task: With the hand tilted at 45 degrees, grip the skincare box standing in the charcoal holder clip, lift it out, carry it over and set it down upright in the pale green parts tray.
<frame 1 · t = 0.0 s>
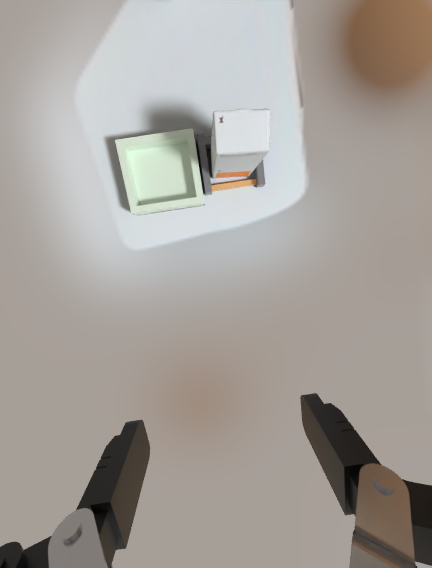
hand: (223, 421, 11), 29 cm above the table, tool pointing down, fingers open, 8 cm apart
skincare box: (230, 164, 36), resting in holder clip
holder clip: (230, 163, 36), on the table
parts tray: (164, 177, 36), on the table
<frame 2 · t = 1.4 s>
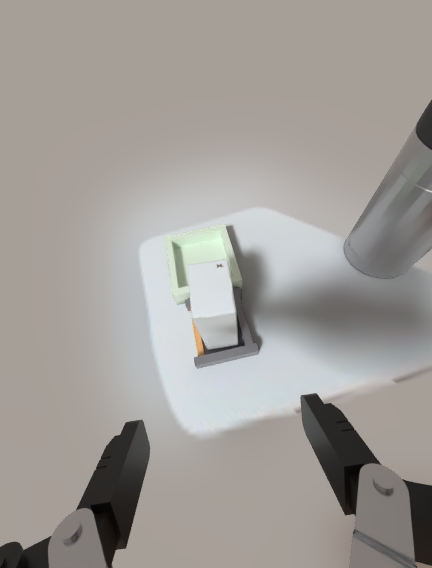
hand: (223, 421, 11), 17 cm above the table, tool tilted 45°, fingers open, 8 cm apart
skincare box: (220, 328, 32), resting in holder clip
holder clip: (220, 327, 32), on the table
parts tray: (203, 267, 37), on the table
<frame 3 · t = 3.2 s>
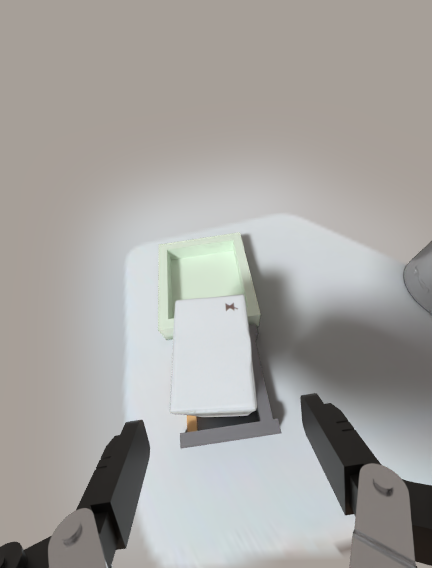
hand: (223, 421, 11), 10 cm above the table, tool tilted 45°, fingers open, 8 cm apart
skincare box: (223, 382, 22), resting in holder clip
holder clip: (223, 381, 22), on the table
parts tray: (206, 289, 27), on the table
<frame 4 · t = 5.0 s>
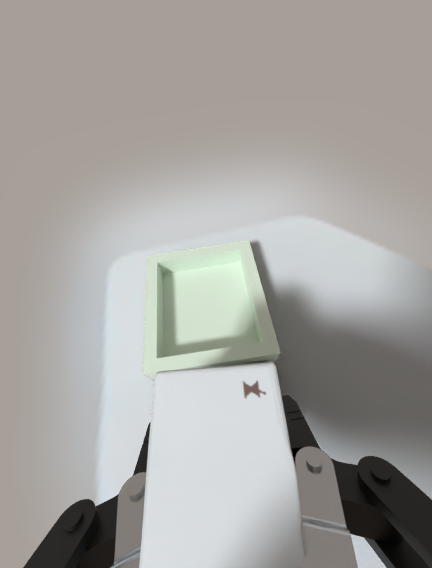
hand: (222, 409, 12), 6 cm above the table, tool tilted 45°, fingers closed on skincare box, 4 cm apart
skincare box: (231, 444, 16), resting in holder clip, touching gripper
parts tray: (207, 312, 22), on the table
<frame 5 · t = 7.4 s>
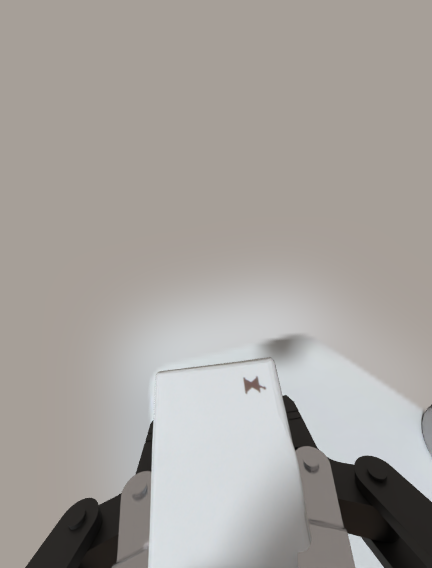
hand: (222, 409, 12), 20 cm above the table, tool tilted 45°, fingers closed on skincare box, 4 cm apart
skincare box: (229, 443, 17), point 14 cm above the table, touching gripper
when the fingers open (8 cm above the table, at t = 10.1 s): skincare box stays where it is, resting on parts tray.
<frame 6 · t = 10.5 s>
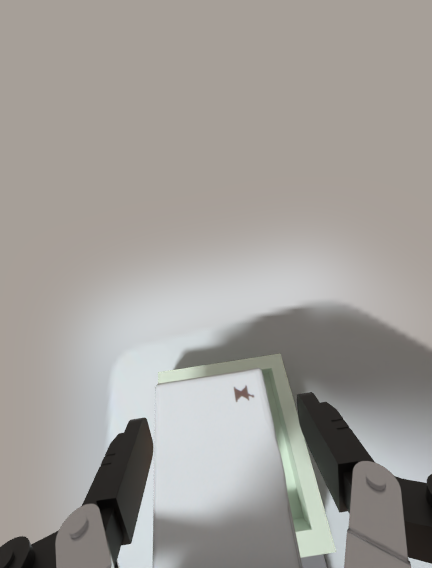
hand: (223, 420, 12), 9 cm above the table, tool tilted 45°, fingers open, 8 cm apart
skincare box: (229, 444, 17), point 1 cm above the table, touching parts tray
parts tray: (231, 442, 18), on the table
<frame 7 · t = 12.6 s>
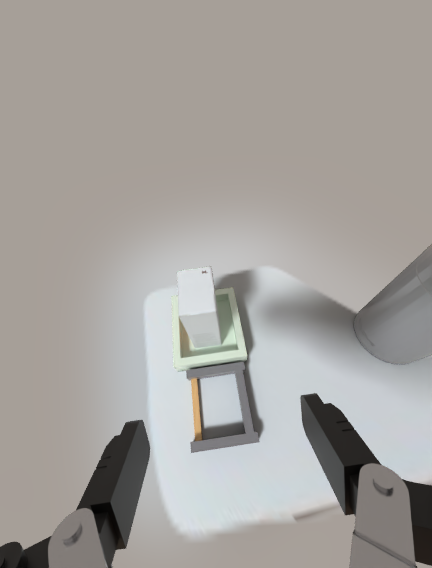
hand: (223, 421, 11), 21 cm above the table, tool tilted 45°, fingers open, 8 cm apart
skincare box: (206, 329, 35), point 1 cm above the table, touching parts tray
holder clip: (220, 404, 30), on the table
parts tray: (208, 330, 36), on the table
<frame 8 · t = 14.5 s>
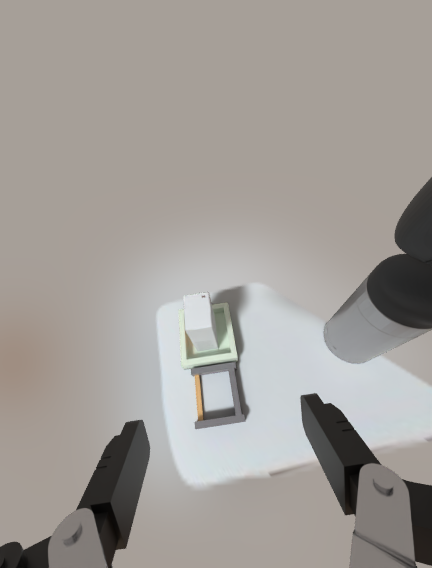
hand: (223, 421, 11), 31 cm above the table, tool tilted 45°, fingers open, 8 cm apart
skincare box: (206, 336, 45), point 1 cm above the table, touching parts tray
holder clip: (217, 394, 40), on the table
parts tray: (207, 337, 45), on the table
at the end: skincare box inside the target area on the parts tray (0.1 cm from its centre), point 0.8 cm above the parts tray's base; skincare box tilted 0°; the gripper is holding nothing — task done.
